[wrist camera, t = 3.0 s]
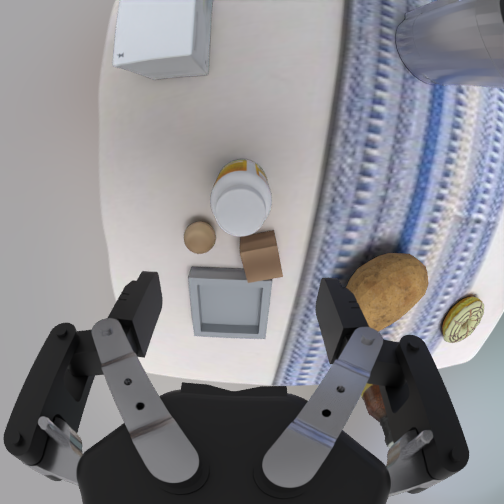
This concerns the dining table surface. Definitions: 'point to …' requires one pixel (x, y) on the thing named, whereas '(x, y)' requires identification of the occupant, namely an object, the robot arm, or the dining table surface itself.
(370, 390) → the sauce bottle
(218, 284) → the tray
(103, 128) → the dining table surface
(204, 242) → the cork ball
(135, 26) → the skincare box
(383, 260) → the potato
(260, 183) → the supplement bottle
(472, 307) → the decorated donut
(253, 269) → the walnut block
